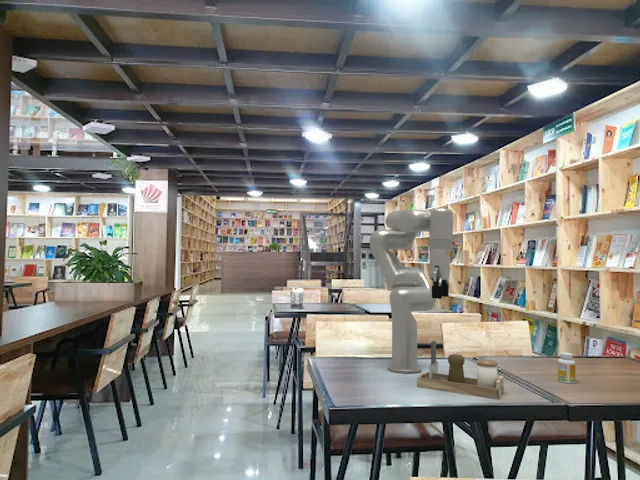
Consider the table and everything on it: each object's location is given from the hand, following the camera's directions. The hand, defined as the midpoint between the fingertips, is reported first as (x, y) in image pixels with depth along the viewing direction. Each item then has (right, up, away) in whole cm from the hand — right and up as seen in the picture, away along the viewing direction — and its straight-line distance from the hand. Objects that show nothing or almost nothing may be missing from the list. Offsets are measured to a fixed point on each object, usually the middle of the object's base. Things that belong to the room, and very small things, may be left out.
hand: (440, 297), depth 147 cm
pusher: (-2, -30, +1) cm, 30 cm away
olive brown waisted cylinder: (+4, -30, -3) cm, 30 cm away
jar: (+13, -29, -8) cm, 33 cm away
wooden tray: (+5, -29, -3) cm, 30 cm away
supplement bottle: (+47, -31, +8) cm, 56 cm away
